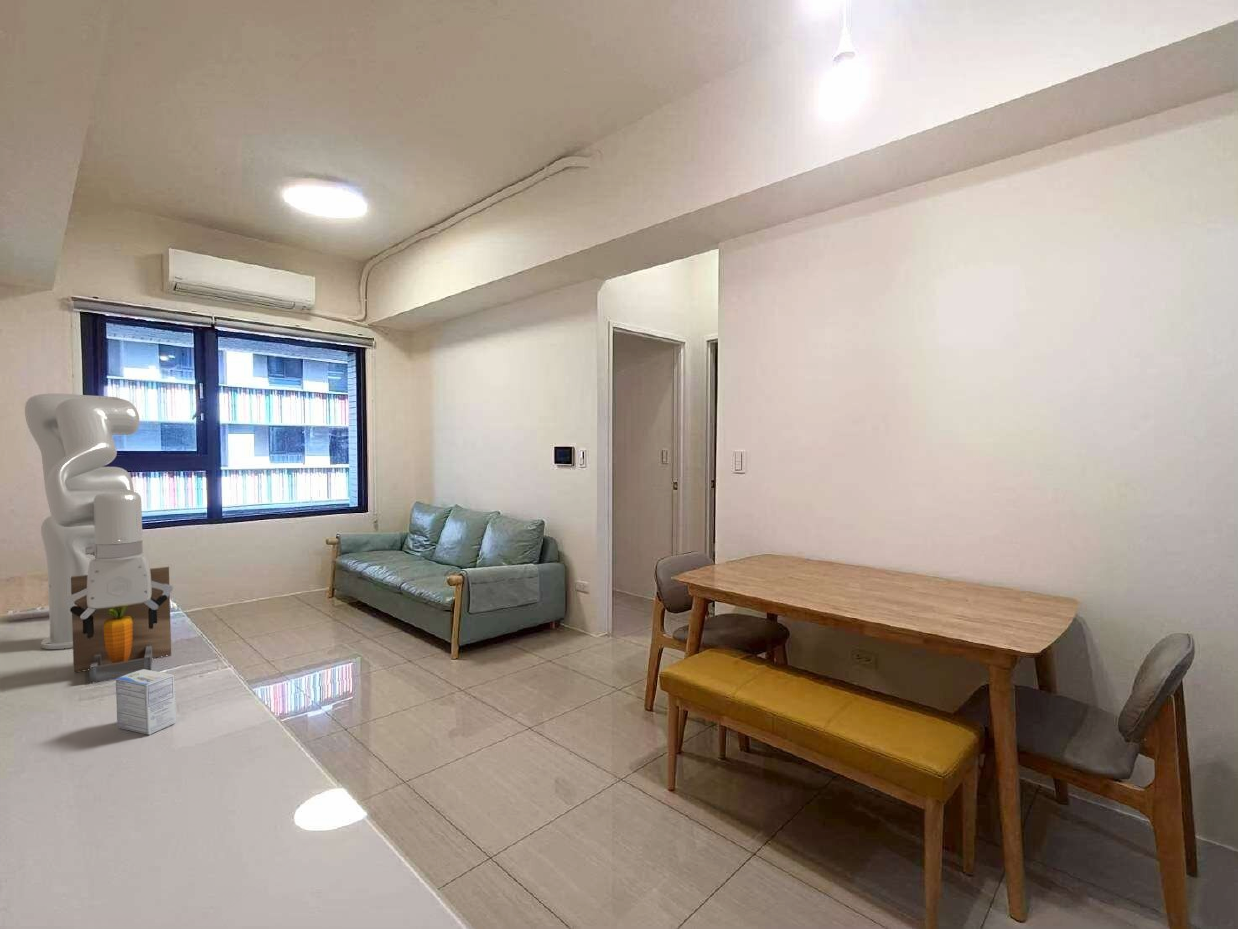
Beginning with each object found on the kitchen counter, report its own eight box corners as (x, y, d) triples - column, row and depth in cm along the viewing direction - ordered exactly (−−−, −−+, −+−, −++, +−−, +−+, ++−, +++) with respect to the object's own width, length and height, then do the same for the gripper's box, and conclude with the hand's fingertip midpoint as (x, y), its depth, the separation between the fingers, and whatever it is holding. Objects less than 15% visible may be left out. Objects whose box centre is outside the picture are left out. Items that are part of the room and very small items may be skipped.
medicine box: (176, 724, 97) (175, 673, 97) (147, 736, 93) (146, 684, 93) (145, 716, 100) (144, 668, 100) (116, 728, 96) (114, 677, 95)
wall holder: (74, 670, 120) (71, 576, 120) (171, 653, 130) (168, 566, 129) (66, 688, 112) (63, 586, 111) (170, 668, 121) (168, 575, 121)
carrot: (140, 668, 122) (137, 599, 120) (111, 677, 117) (107, 606, 116) (129, 663, 124) (125, 595, 123) (100, 672, 119) (96, 602, 118)
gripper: (58, 558, 111) (61, 645, 112) (171, 548, 122) (173, 628, 122) (64, 552, 117) (67, 635, 118) (171, 544, 128) (173, 619, 128)
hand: (121, 631), depth 120 cm, fingers open, 9 cm apart
